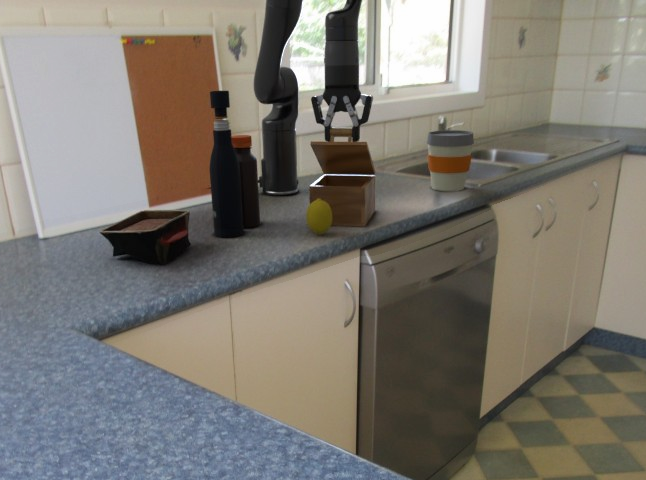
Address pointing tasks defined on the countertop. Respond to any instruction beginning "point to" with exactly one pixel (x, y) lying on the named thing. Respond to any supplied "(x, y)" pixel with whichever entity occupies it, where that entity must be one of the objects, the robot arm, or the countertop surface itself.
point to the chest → (346, 197)
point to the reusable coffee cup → (449, 158)
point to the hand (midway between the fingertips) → (342, 143)
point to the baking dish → (150, 235)
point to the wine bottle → (224, 173)
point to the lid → (343, 155)
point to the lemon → (319, 216)
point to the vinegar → (248, 180)
